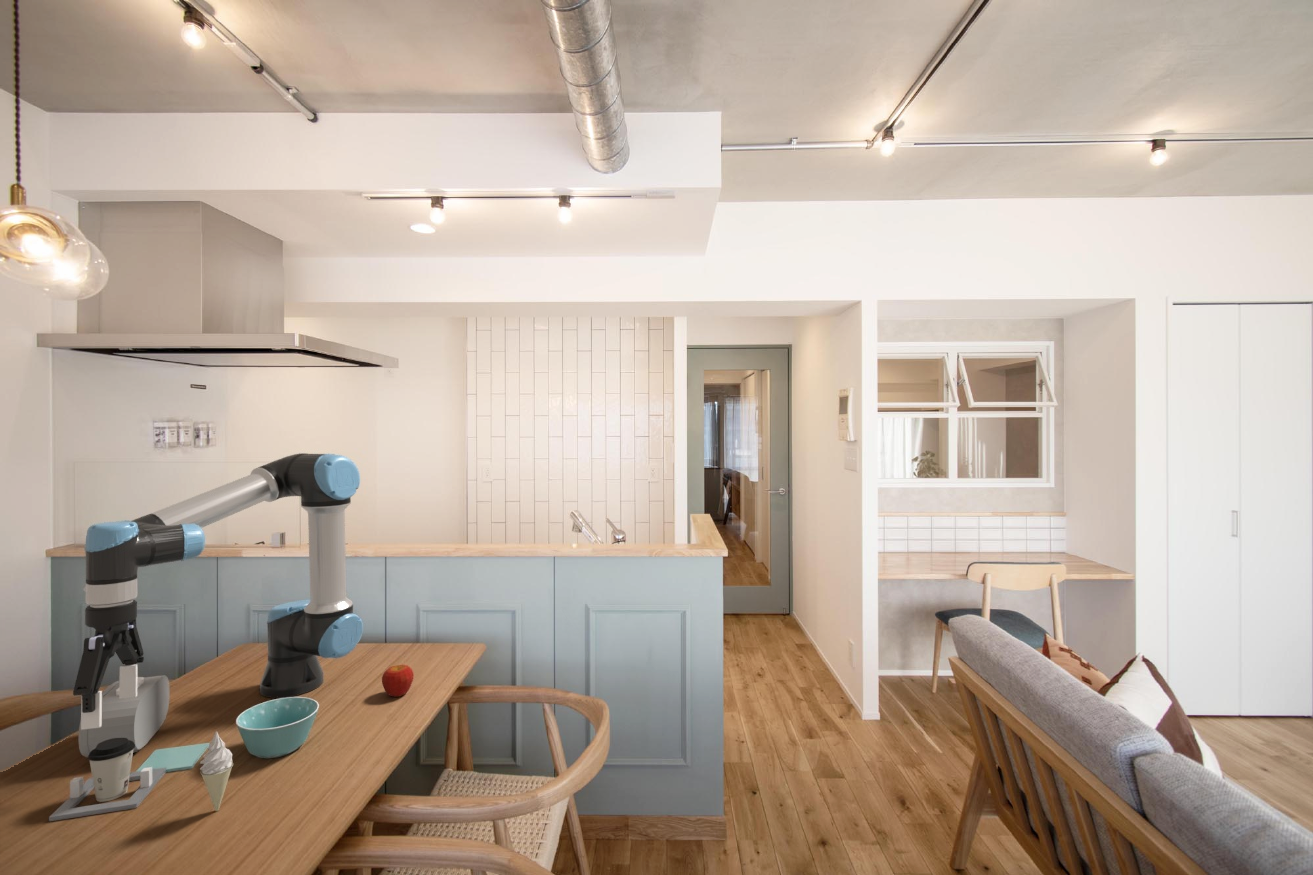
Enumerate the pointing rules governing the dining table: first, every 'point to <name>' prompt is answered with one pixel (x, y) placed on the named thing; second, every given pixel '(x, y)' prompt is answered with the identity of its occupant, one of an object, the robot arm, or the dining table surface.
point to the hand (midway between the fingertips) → (110, 711)
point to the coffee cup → (111, 768)
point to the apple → (397, 680)
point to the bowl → (277, 725)
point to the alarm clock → (129, 714)
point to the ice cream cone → (216, 769)
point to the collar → (81, 790)
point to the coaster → (175, 757)
